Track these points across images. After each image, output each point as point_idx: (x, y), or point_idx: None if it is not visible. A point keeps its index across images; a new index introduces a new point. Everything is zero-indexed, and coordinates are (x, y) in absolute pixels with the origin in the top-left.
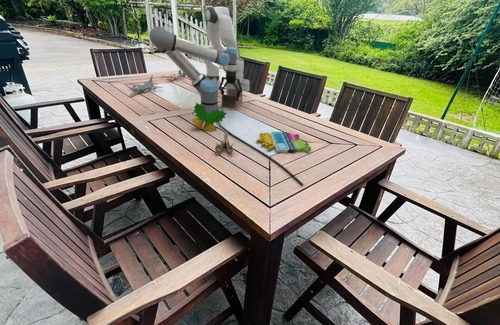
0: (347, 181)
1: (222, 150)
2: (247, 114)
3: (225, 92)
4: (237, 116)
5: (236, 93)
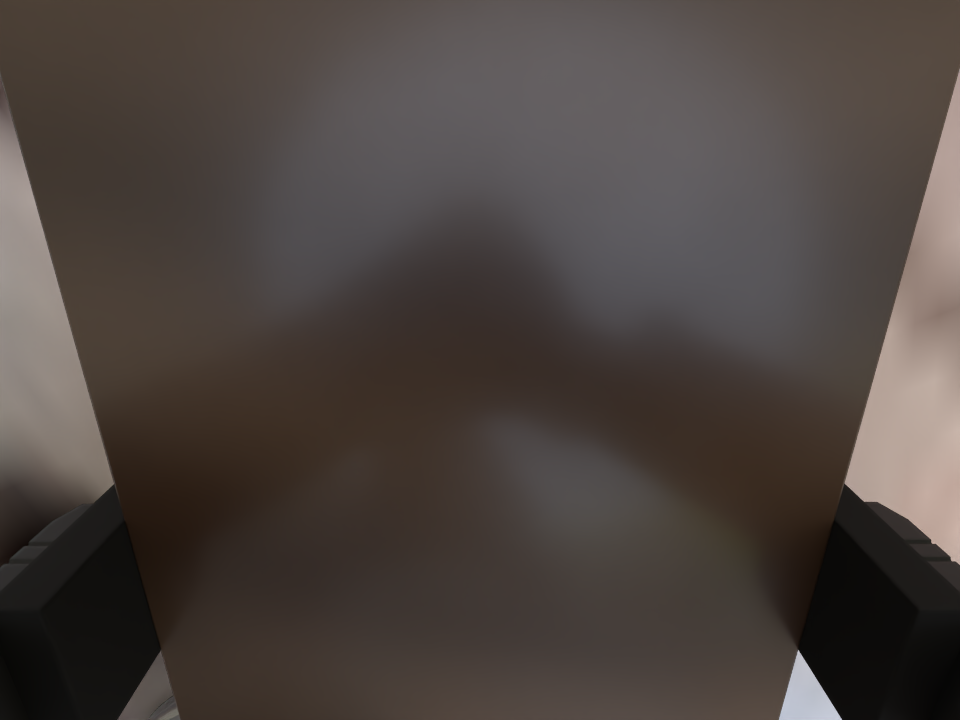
0: None
1: None
2: None
3: (155, 459)
4: None
5: (752, 398)
